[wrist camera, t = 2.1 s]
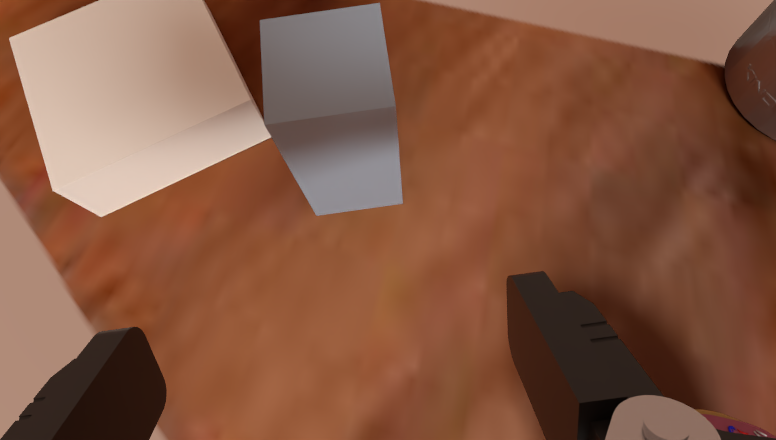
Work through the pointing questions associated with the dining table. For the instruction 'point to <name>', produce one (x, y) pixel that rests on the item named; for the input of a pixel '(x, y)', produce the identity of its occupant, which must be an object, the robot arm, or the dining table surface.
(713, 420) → the cupcake
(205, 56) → the base
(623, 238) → the dining table surface
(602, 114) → the dining table surface
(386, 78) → the block
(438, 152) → the dining table surface
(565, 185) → the dining table surface
